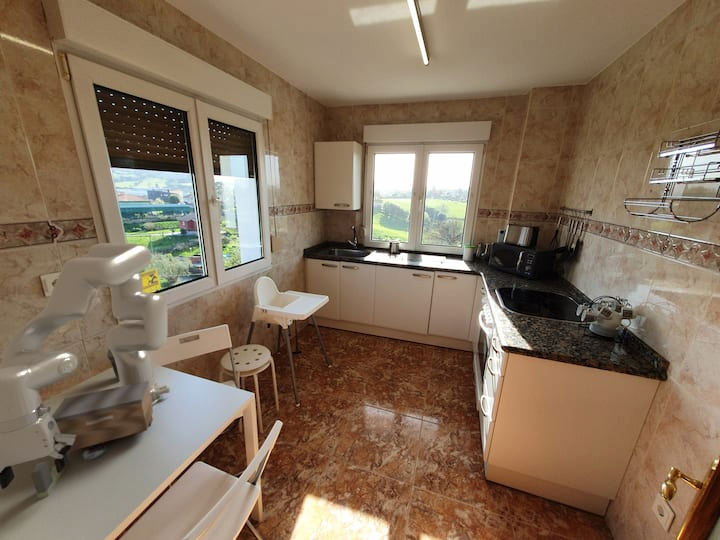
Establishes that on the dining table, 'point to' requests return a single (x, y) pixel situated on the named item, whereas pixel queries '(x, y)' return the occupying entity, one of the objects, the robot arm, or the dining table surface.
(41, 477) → the scraper tool
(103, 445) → the grey rounded piece
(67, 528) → the dining table surface
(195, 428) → the dining table surface
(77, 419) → the walnut cabinet
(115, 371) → the beverage cup
